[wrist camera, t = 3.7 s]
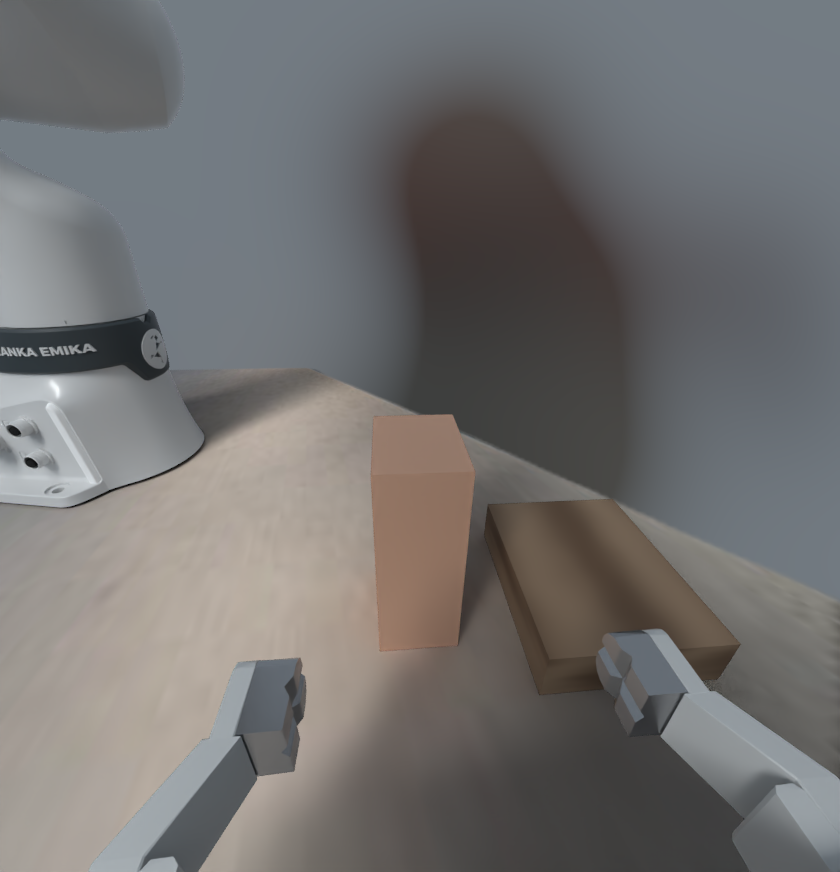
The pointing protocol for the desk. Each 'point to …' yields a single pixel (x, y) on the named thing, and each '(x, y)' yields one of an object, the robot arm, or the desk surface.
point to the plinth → (593, 590)
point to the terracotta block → (420, 528)
